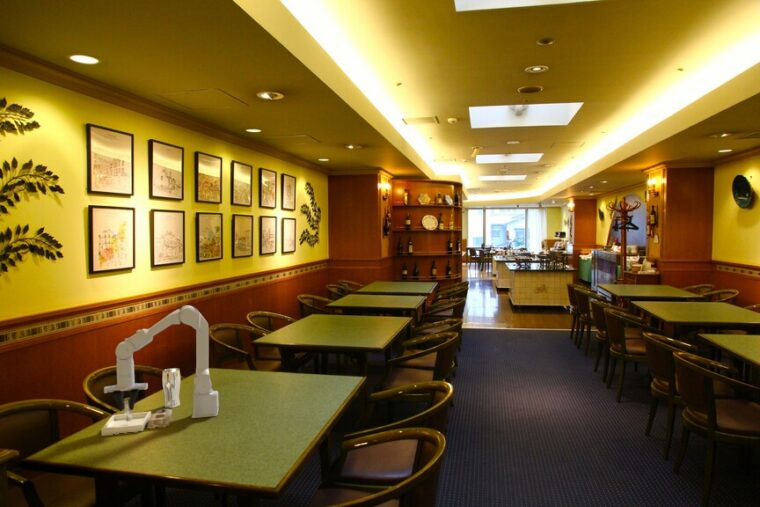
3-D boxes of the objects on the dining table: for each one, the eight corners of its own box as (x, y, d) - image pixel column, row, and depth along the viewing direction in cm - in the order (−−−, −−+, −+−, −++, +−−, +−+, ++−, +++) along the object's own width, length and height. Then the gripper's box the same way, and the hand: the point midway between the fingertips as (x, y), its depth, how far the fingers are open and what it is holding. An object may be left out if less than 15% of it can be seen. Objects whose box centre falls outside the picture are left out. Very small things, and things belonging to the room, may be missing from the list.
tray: (151, 417, 186) (151, 411, 186) (142, 431, 173) (142, 424, 173) (113, 421, 183) (112, 415, 183) (101, 435, 170) (101, 429, 170)
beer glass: (159, 407, 198) (158, 371, 197) (172, 401, 204) (171, 367, 203) (172, 409, 195) (171, 373, 194) (185, 403, 201) (183, 368, 201)
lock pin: (134, 417, 180) (132, 397, 179) (132, 420, 177) (129, 400, 176) (125, 419, 179) (123, 398, 179) (123, 422, 176) (120, 401, 176)
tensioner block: (174, 412, 191) (174, 405, 191) (168, 426, 177) (167, 418, 177) (156, 414, 189) (155, 407, 189) (147, 428, 176) (147, 420, 175)
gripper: (100, 378, 172) (102, 415, 172) (144, 375, 175) (145, 411, 176) (106, 373, 178) (108, 408, 179) (148, 370, 182) (149, 404, 182)
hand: (126, 409), depth 178 cm, fingers closed on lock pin, 3 cm apart
